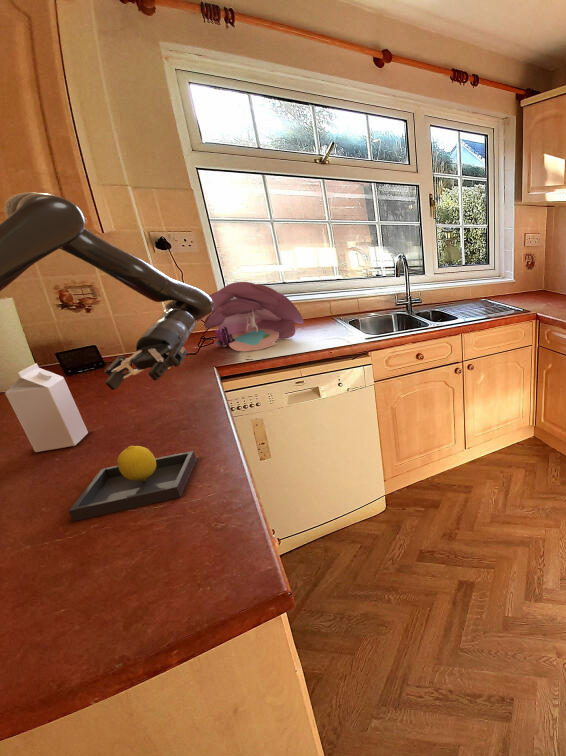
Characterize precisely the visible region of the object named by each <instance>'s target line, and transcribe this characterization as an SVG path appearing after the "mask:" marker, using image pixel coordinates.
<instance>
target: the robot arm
mask: <svg viewBox="0 0 566 756" xmlns="http://www.w3.org/2000/svg"><path fill="white" fill-rule="evenodd" d="M3 212H4V214H5V215H4V216H5V218H6V219H5V220H3V221H2V222H1V223H0V292H2V291H3V290H4V289H6V288H7V287H8V286H9V285H10V284H12V283H13V282H14V281H15V280H17V278H19V277H20V276H21V275H22V274H24V272H26V271H27V270H28V269H29V268H31V267H32V266H33V265H35V264H36V263H38V262H39V261H40V260H41V261H42V259H44V258H46V257H48V256H49V255H51V254H52V253H54V252H56V251H58V250H61V251H63V252H65V253H68V254H69V255H71V256H74V257H75V258H77V259H79V260H81V261H84V262H86V263H87V264H89V265H90V266H93V267H94V268H96V269H98V270H99V271H101V272H103V273H104V274H106V275H108V276H110V277H111V278H113V279H115V280H116V281H118V282H119V283H121V284H123V285H124V286H126V287H127V288H129V289H131V290H133V291H135V292H137V293H138V294H140V295H142V296H143V297H145V298H146V299H148V300H150V301H152V302H155V303H163V302H166V304H165V306H164V307H163V310H162V314H161V315H160V317H158V319H157V320H156V321H155V322H153V323H152V324H151V325H150V326H149V327H148V329H146V331H145V332H144V333H143V334H142V335H141V337H139V338H138V340H137V342H136V344H135V349H136V350H135V352H134V353H133V354H131V355H130V356H128V357H126V358H125V356H124V355H119V356H117V358H115V360H113V361H112V362H111V363H110V365H108V367H106V368H105V369H104V371H103V373H104V374H106V375H107V376H108V378H106V380H105V382H104V384H105V385H106V386H107V387H108V388H109V389H110V390H111V391H113V390H117V389H118V388H119V387H120V386H121V385H122V383H123V382H124V381H125V379H127V378H129V377H130V376H132V375H133V376H136V375H139V374H140V373H141V372H143V371H145V370H147V369H149V370H148V376H149V377H150V378H151V379H152V380H153V381H158V380H160V379H161V378H162V376H163V375H164V374H165V373H166V371H169V370H171V367H174V368H175V367H176V368H177V367H179V366H180V365H181V364H182V363H183V361H184V359H185V357H186V355H187V354H188V351H187V349H186V348H185V347H184V346H185V345H186V344H187V342H188V339H189V337H190V336H191V335H192V333H193V332H194V330H195V328H196V323H197V320H198V319H200V318H202V317H204V316H206V315H207V316H209V315H210V314H211V312H212V311H213V309H214V303H213V301H212V299H211V298H210V297H209V295H208V294H207V293H206V292H205V291H203V290H201V289H199V288H197V287H196V286H192V285H191V284H190V285H189V284H188V283H185V282H182V281H180V280H176V279H174V278H171V277H170V276H168V275H166V274H165V273H163V272H161V271H160V270H158V269H157V268H156V267H154V266H153V265H151V264H150V263H147V262H146V261H145V260H142V259H141V258H139V257H137V256H136V255H133V254H131V253H129V252H128V251H125V250H123V249H121V248H119V247H117V246H116V245H113V244H111V243H110V242H108V241H106V240H105V239H103V238H101V237H99V236H98V235H96V234H94V233H93V232H92V231H90V230H89V229H87V228H85V225H86V222H85V221H86V220H85V216H84V214H83V212H82V210H81V209H80V208H79V207H78V206H77V205H76V204H75V203H73V202H72V201H70V200H68V199H66V198H65V197H62V196H59V195H55V194H51V193H46V192H45V193H44V192H33V191H31V192H21V193H15V194H14V195H12V196H10V197H9V198H8V199H6V201H5V203H4V206H3ZM208 314H209V315H208ZM207 316H206V317H207ZM204 318H205V317H204ZM131 364H133V365H134V366H135V368H136V369H134V368H133V367H132V366H131Z"/></svg>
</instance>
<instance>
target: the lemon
mask: <svg viewBox="0 0 566 756" xmlns="http://www.w3.org/2000/svg"><path fill="white" fill-rule="evenodd" d="M155 458H156V457H155V455H154V454H153V452H152V451H151V450H150V449H149V448H147V447H145V446H141V445H129V446H128V447H126V448H125V449H123V450H122V451H121V452H120V454H119V455H118V457H117V466H118V467H119V470H120V472H121V474H122V475H123V476H124V477H126V478H127V479H129V480H134V481H138V480H140V481H145V480H147V478H148V477H149V476H151V475H152V474H153V473H154V471H155V469H156V459H155Z"/></svg>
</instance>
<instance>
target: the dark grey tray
mask: <svg viewBox="0 0 566 756" xmlns="http://www.w3.org/2000/svg"><path fill="white" fill-rule="evenodd" d="M155 459H156V469H155V471H154V473H153V474H152V475H151V476H149V477H148V478H147V480H145V481H140V480H138V481H134V480H129V479H127V478H126V477H124V476H123V475H122V474H121V472H120V470H119V467H118V465H113V466H109V467H104V468H101V469H100V470H99V471H98V473H97V474H96V476H94V478H93V479H92V480H91V481H90V483H89V484H88V485H87V487H86V488H85V489H84V491H83V492H82V493H81V494H80V496H79V497H78V498H77V499H76V500H75V502H74V503H73V504H72V505H71V507H70V508H69V510H68V513H69V515H70V517H71V519H72V521H73V522H77V521H81V520H86V519H89V518H96V517H99V516H104V515H108V514H113V513H116V512H121V511H125V510H130V509H134V508H139V507H144V506H148V505H152V504H156V503H157V504H158V503H159V502H165V501H169V500H174V499H178V498H181V497H182V496H183V492H184V490H185V489H186V486H187V483H188V480H189V479H190V476H191V474H192V472H193V469H194V467H195V465H196V462H197V457H196V454H195V451H194V450H191V451H187V452H180V453H175V454H170V455H166V456H160V457H155Z"/></svg>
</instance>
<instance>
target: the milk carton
mask: <svg viewBox="0 0 566 756" xmlns="http://www.w3.org/2000/svg"><path fill="white" fill-rule="evenodd" d="M17 374H18V377H19V378H18V379H17V380H16V381H15V382H14V383H13V384H12V385H11V386H10V387H9V388H8V389H7V390H6V391H5V392H4V394H5V396H6V398H7V400H8V402H9V404H10V406H11V408H12V410H13V412H14V413H15V416H16V418H17V420H18V421H19V423H20V426H21V427H22V430H23V431H24V433H25V436H26V438H27V440H28V442H29V443H30V445H31V447H32V449H33V452H34V453H40V452H45V451H46V452H47V451H52V450H57V449H64V448H68V447H69V448H70V447H75V446H77V445H78V443H80V442H81V441H82V440H83V439H84V438H85V437H86V436H87V435H88V434H89V431H88V428H87V427H86V424H85V423H84V420H83V417H82V416H81V413H80V411H79V408H78V406H77V403H76V402H75V399H74V398H73V395H72V393H71V391H70V389H69V386H68V384H67V382H66V379H65V377H64V376H62V375H59V374H56V373H54V372H52V371H50V370H46V369H43V368H41V367H39V365H38V363H37V362H36V363H34V364H32V365H30V366H27V367H26V368H24V369H22V370H20V371H18V372H17Z"/></svg>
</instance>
